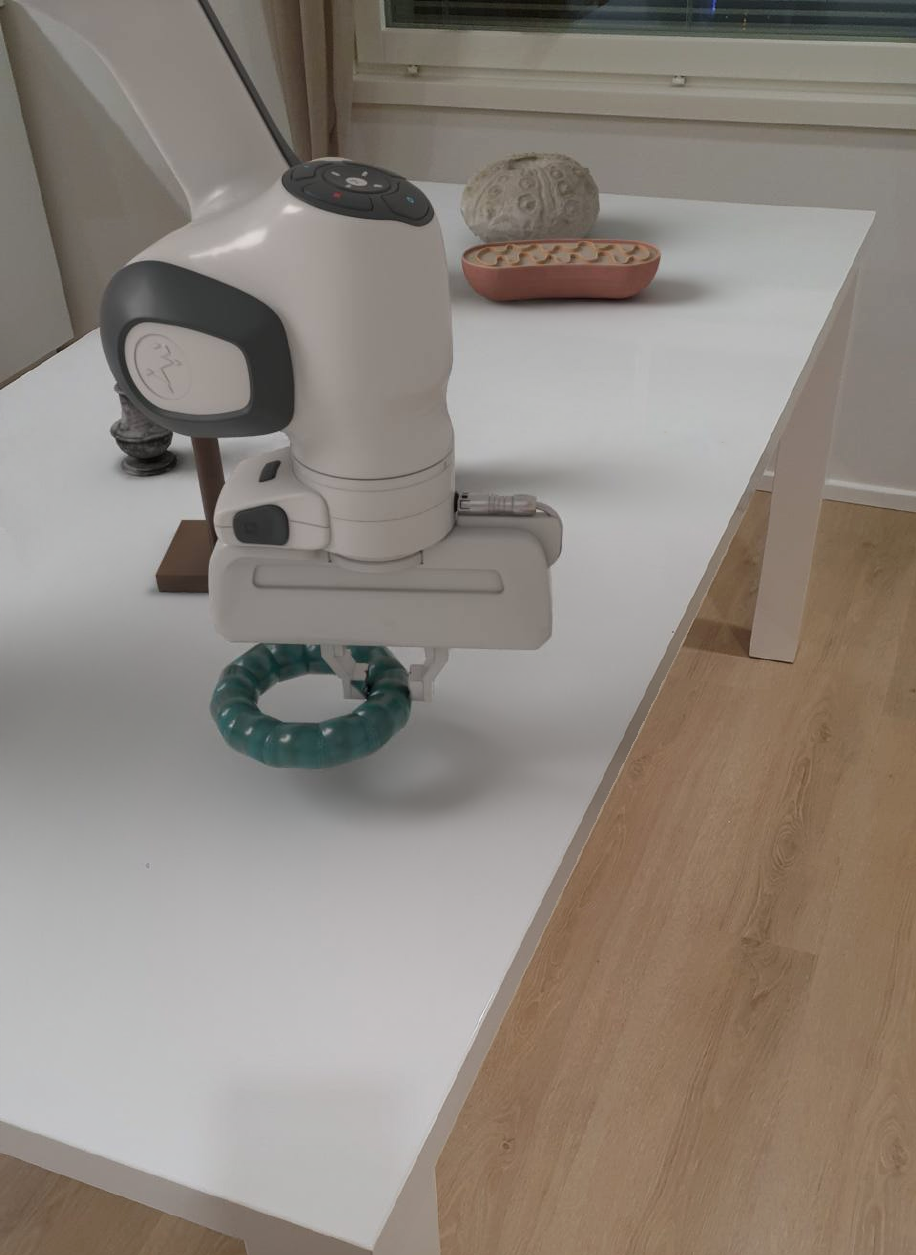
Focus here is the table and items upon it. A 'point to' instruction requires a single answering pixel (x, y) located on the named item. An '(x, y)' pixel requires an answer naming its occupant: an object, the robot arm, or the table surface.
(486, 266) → the mitochondrion model
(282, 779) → the table surface
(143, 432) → the salt shaker
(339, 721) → the ring
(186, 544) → the post stand
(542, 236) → the decorative shell
